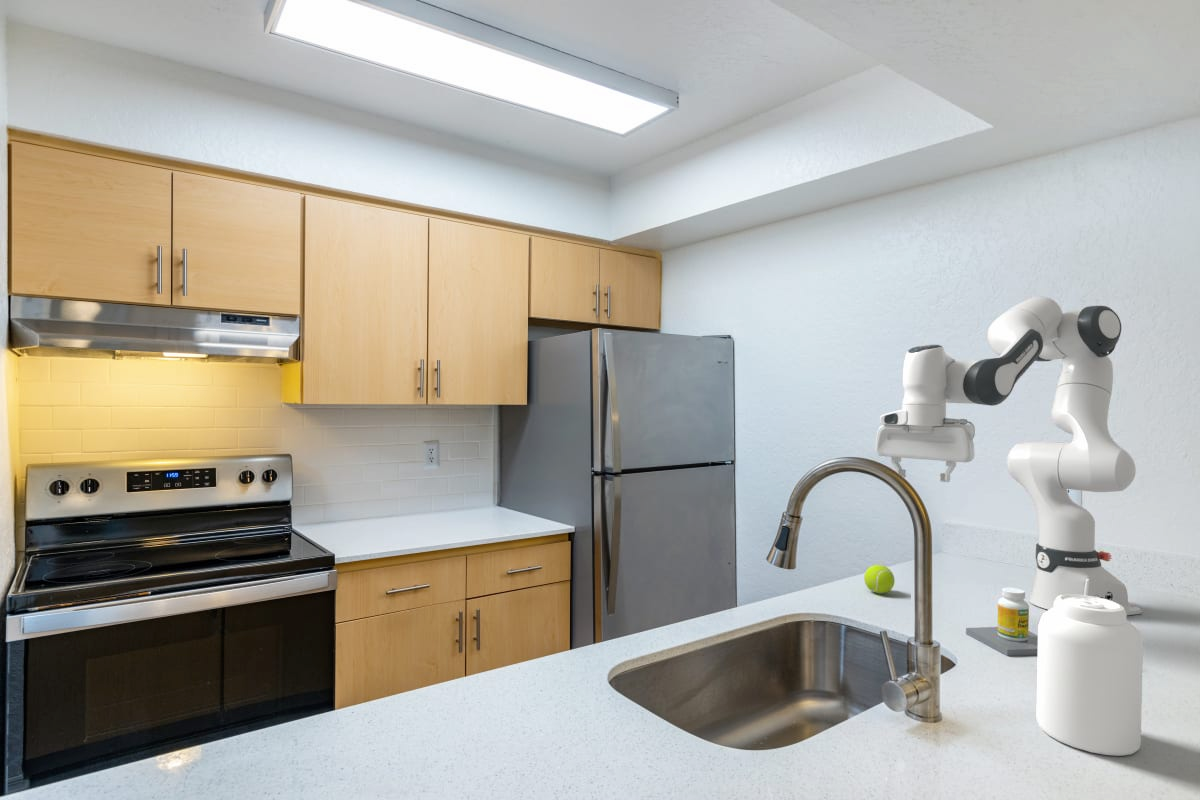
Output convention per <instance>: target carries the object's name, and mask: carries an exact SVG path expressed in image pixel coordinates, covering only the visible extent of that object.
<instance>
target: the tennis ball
mask: <svg viewBox="0 0 1200 800" xmlns="http://www.w3.org/2000/svg"><path fill="white" fill-rule="evenodd" d="M863 579H864V584H865V586H866V587H867V588H868V590H870V592H873V593H875V594H880V595H881V594H886V593H889V592H890V591H892V589H893V588H894V586H895V576H894V574H893V572H892V571H891V570H890V568H888V567H887V566H885V565H883V564H882V565H881V564H874V565H871V566H870V567H868V568H867V569H866V571H865V572H864V577H863Z"/></svg>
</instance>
